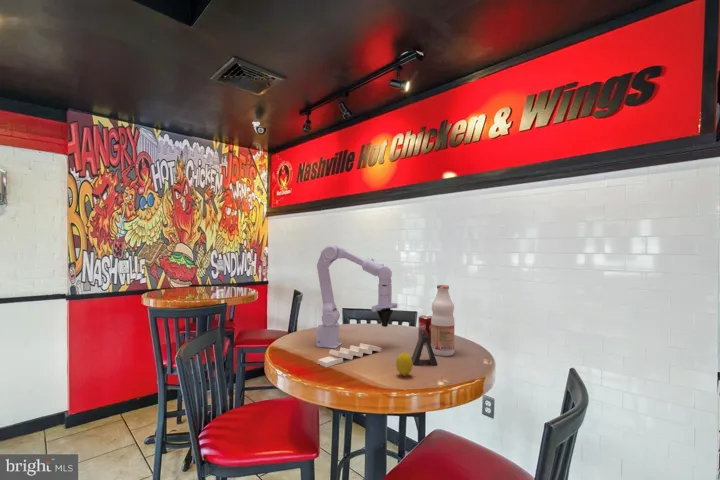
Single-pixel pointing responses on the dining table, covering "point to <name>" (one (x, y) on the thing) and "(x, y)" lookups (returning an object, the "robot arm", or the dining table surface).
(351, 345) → the tile
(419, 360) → the phone stand
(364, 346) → the head tile
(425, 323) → the soda can
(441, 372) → the dining table surface
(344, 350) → the tile
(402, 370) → the lemon
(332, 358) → the tile
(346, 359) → the end marker
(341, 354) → the tile
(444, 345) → the fruit juice
